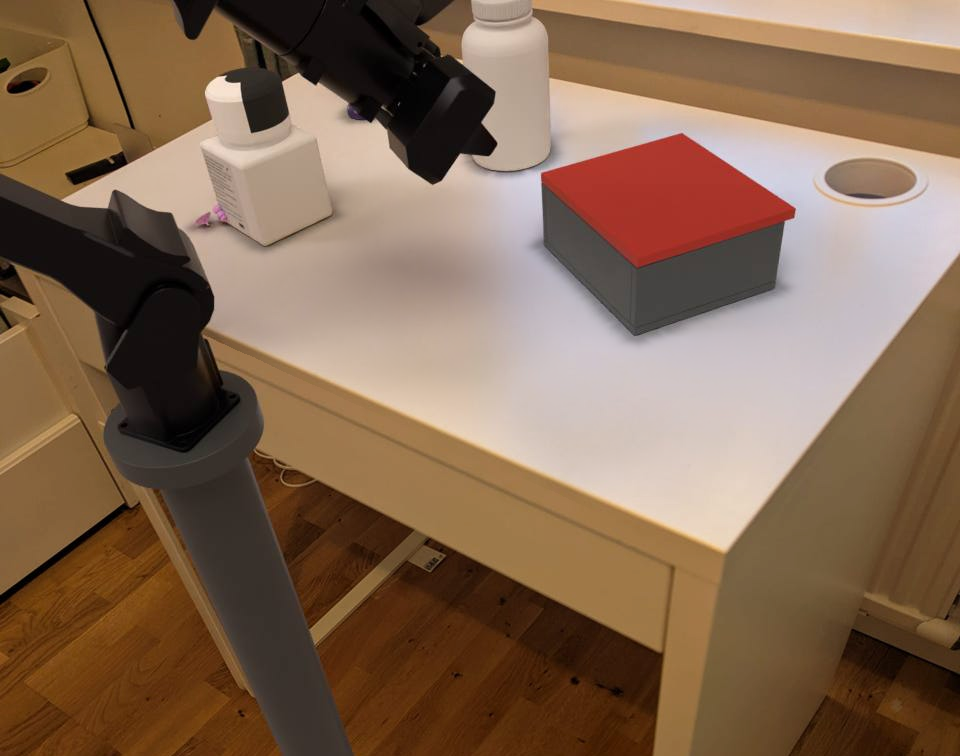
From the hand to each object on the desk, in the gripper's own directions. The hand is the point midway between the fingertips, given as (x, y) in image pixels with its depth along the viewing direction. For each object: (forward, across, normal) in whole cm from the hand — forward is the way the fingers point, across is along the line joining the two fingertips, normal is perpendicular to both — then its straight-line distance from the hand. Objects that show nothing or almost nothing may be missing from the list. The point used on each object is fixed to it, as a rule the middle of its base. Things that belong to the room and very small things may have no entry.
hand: (491, 148), depth 64 cm
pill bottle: (+18, +25, +1) cm, 31 cm away
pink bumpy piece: (-3, +28, +22) cm, 35 cm away
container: (+1, +26, +18) cm, 31 cm away
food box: (+19, 0, 0) cm, 19 cm away
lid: (+15, 0, -4) cm, 16 cm away
